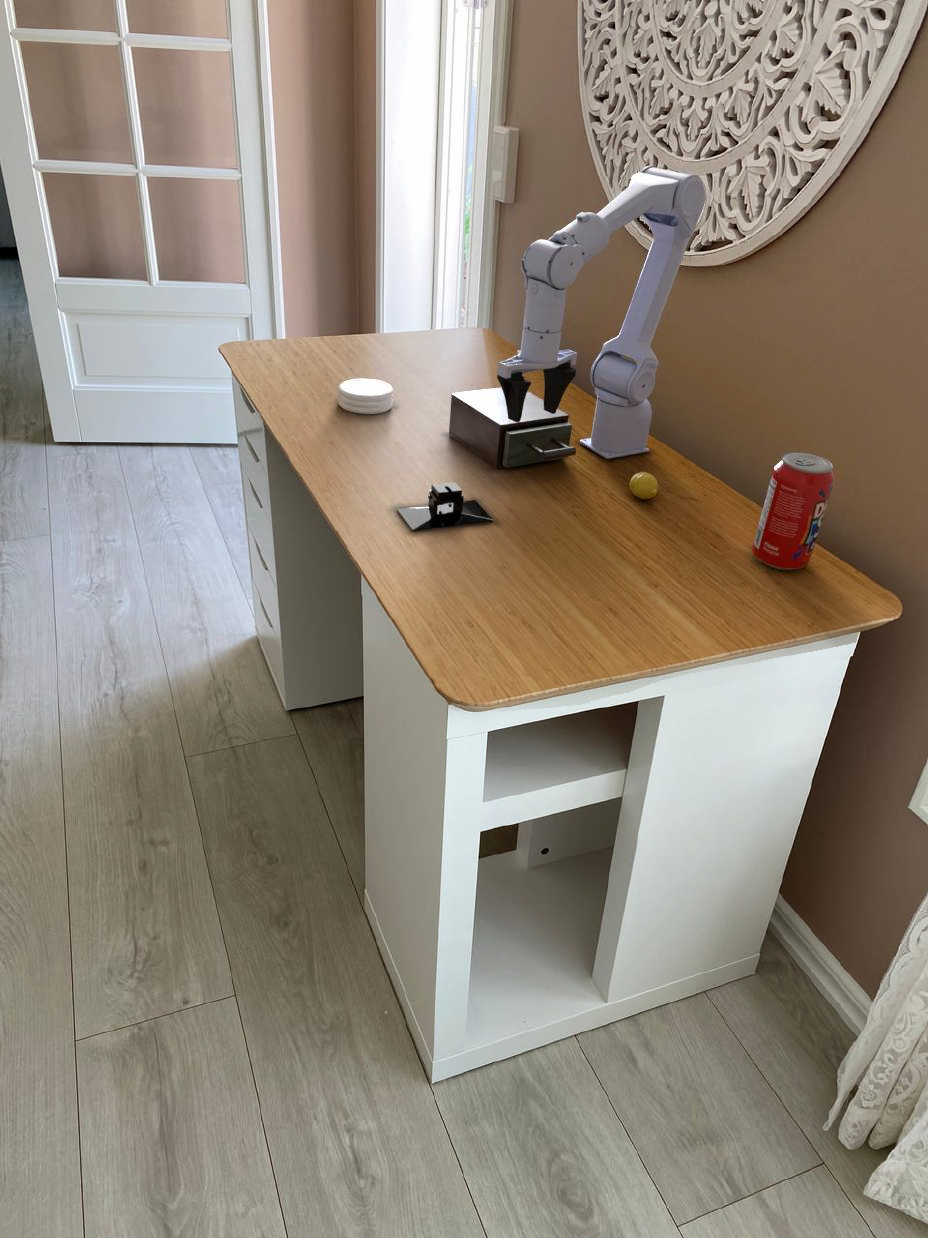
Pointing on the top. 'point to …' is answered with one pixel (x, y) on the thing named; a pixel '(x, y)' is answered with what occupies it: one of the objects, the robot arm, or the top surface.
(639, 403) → the robot arm
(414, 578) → the top surface
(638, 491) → the lemon
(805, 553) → the soda can
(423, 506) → the black block on plate
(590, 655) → the top surface
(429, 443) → the top surface
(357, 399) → the coaster
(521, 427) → the drawer
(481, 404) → the cabinet
